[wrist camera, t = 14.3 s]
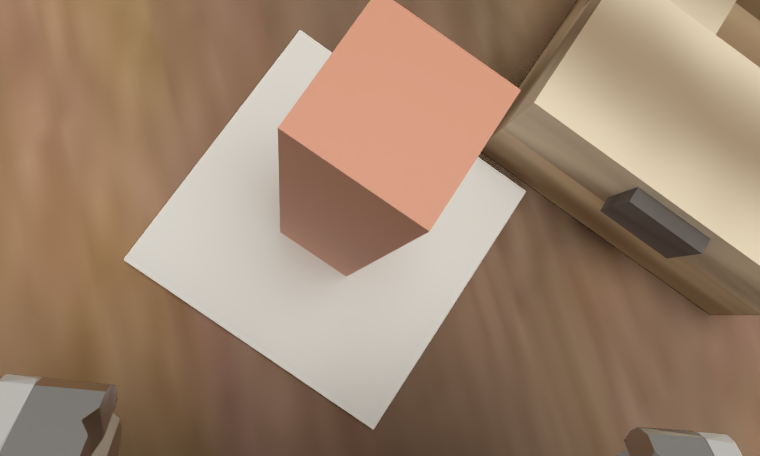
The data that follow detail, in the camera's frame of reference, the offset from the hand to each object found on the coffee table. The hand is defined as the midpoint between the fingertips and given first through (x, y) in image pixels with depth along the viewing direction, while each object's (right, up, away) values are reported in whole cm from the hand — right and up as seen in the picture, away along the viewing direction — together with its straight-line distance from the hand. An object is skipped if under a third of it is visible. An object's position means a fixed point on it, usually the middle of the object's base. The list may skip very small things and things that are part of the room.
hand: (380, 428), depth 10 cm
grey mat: (-2, +3, +15) cm, 15 cm away
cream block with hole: (+13, +9, +18) cm, 24 cm away
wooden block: (-2, +3, +14) cm, 15 cm away
